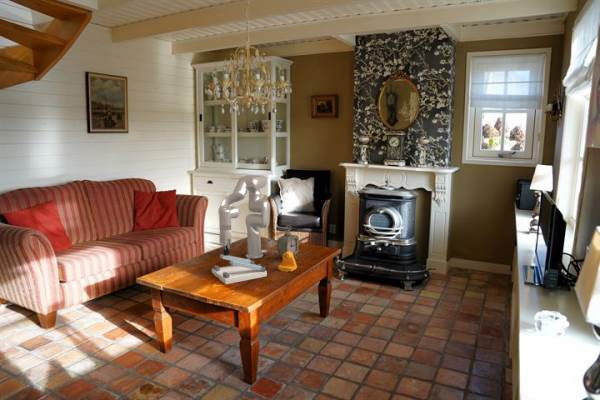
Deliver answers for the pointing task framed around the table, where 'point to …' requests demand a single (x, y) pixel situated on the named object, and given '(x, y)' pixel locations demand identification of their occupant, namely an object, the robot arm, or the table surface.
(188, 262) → the table surface
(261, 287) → the table surface
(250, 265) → the lever
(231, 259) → the lever
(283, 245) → the tabletop clock
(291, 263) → the bracket
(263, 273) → the board
